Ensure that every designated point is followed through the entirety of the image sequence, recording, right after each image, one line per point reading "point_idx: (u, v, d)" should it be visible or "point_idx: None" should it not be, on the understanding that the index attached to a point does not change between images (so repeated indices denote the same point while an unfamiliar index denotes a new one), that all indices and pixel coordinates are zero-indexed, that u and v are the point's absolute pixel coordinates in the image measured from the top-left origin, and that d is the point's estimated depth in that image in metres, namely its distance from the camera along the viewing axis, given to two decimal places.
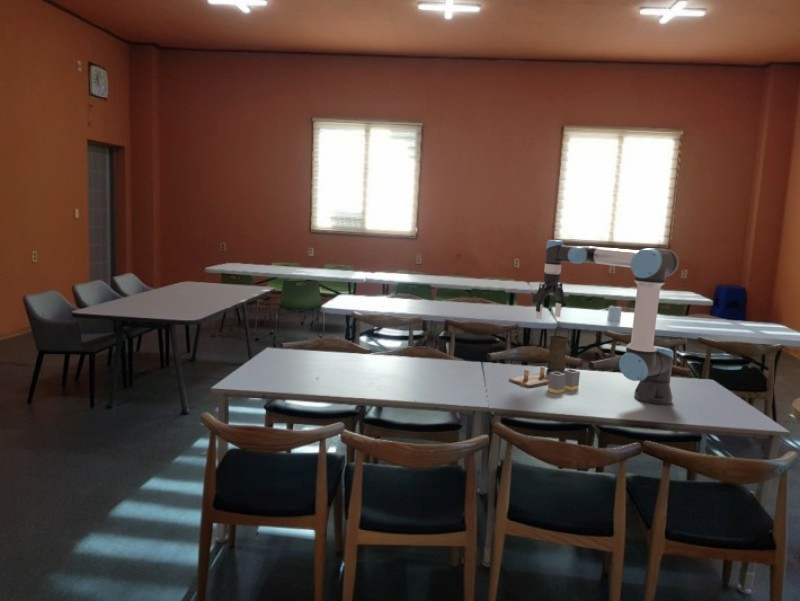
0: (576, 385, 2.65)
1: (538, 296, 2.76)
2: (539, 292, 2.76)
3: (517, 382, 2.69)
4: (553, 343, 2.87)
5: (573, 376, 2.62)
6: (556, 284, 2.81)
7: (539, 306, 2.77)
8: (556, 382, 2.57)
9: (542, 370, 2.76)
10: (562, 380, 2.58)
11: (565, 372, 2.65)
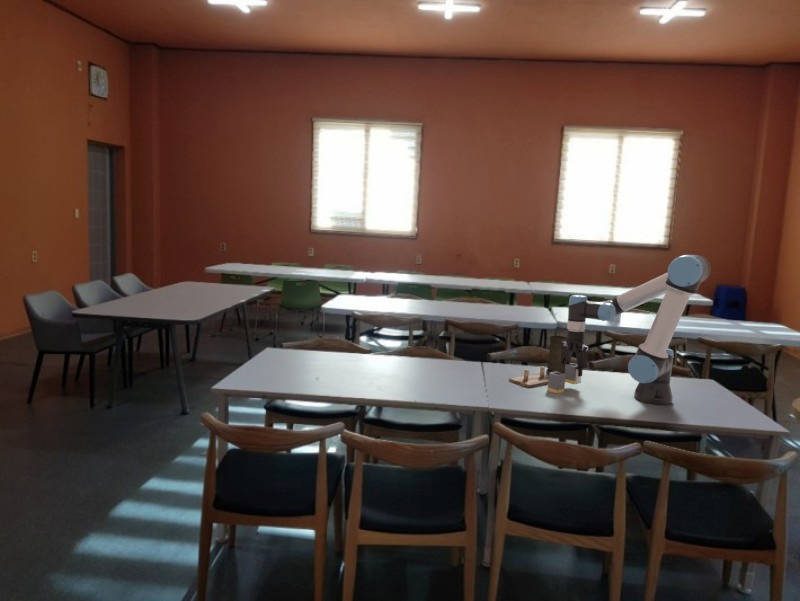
0: None
1: None
2: None
3: (517, 382, 2.69)
4: (553, 343, 2.87)
5: (575, 370, 2.62)
6: (578, 343, 2.60)
7: None
8: (556, 382, 2.57)
9: (542, 370, 2.76)
10: (562, 380, 2.58)
11: (567, 366, 2.64)
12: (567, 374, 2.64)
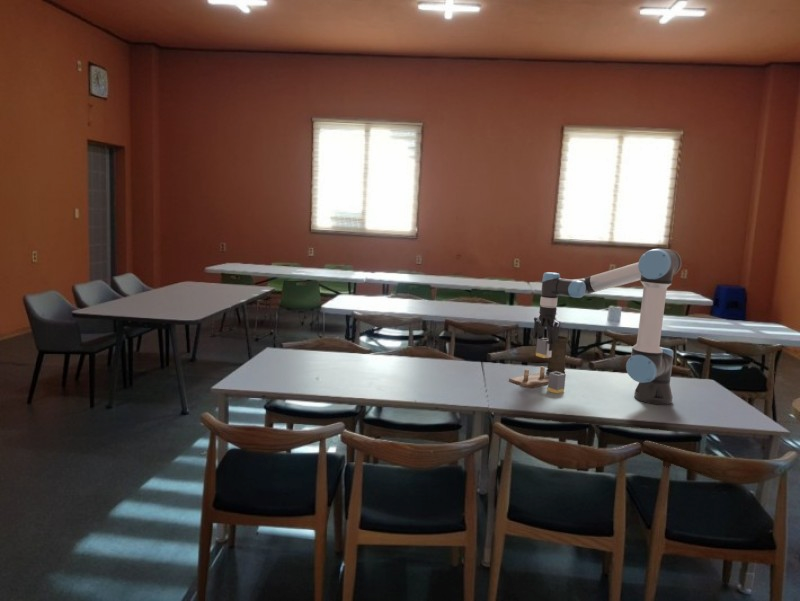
0: None
1: None
2: None
3: (517, 382, 2.69)
4: None
5: (546, 344, 2.72)
6: (550, 318, 2.70)
7: None
8: (556, 382, 2.57)
9: (542, 370, 2.76)
10: (562, 380, 2.58)
11: (539, 340, 2.74)
12: (538, 348, 2.74)
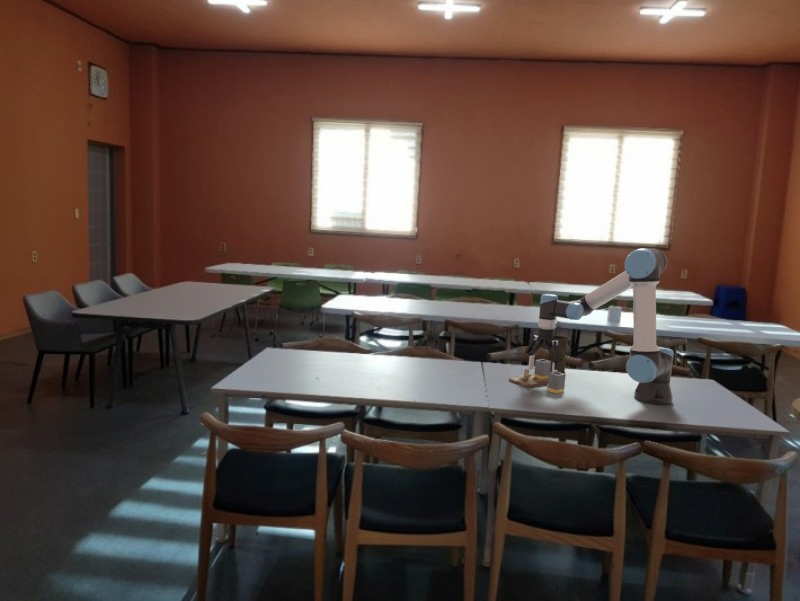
0: (547, 374, 2.75)
1: None
2: None
3: (517, 382, 2.69)
4: None
5: (544, 366, 2.73)
6: (548, 340, 2.72)
7: (529, 356, 2.81)
8: (556, 382, 2.57)
9: None
10: (562, 380, 2.58)
11: (537, 362, 2.76)
12: (537, 369, 2.76)
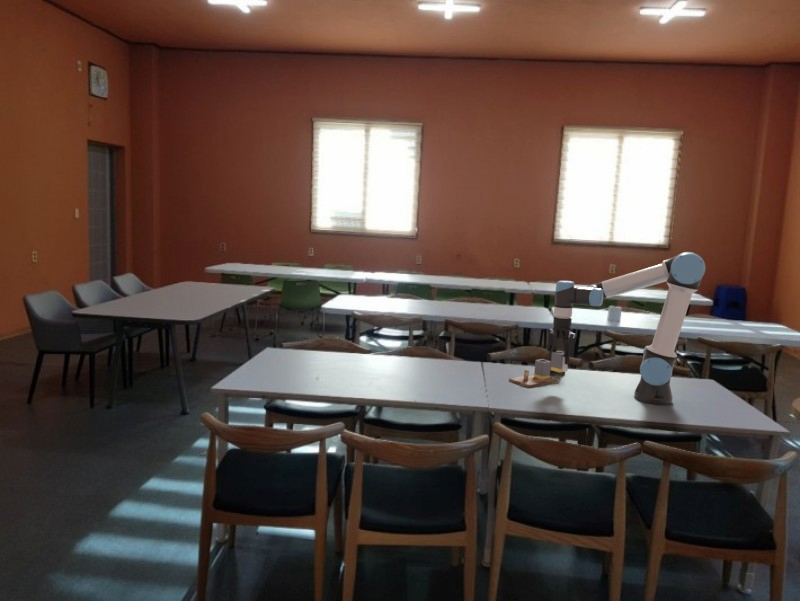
0: (547, 374, 2.75)
1: None
2: None
3: (517, 382, 2.69)
4: None
5: (544, 366, 2.73)
6: (565, 330, 2.53)
7: (551, 355, 2.60)
8: (559, 361, 2.55)
9: None
10: None
11: (537, 362, 2.76)
12: (537, 369, 2.76)
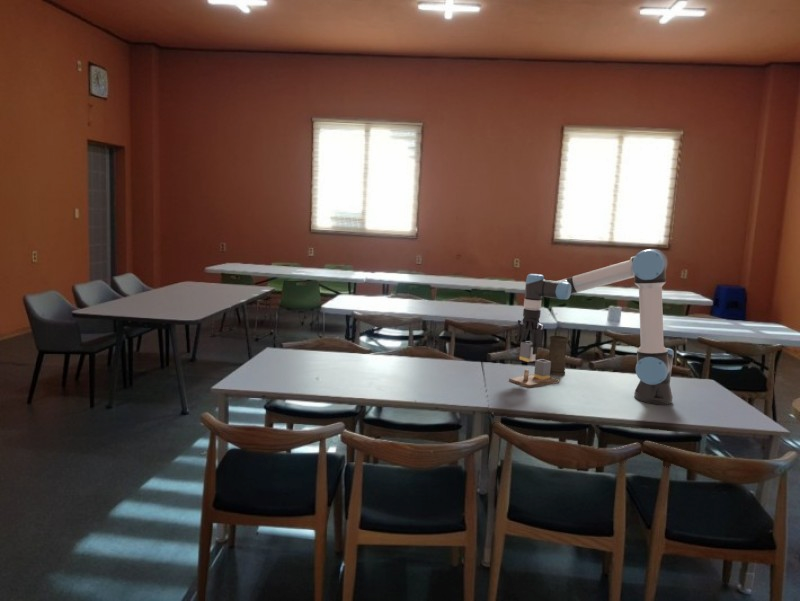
0: (547, 374, 2.75)
1: None
2: None
3: (517, 382, 2.69)
4: (553, 343, 2.87)
5: (544, 366, 2.73)
6: (534, 321, 2.64)
7: None
8: (527, 350, 2.65)
9: None
10: None
11: (537, 362, 2.76)
12: (537, 369, 2.76)
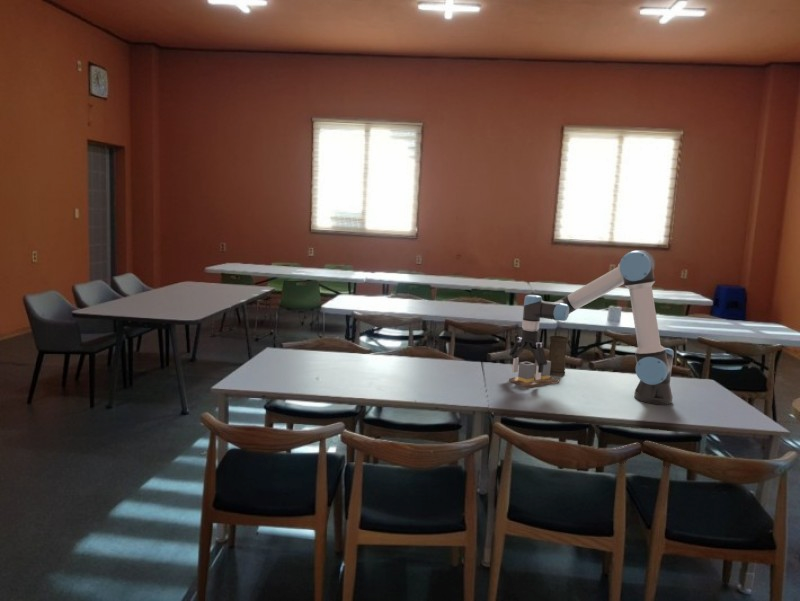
0: (547, 374, 2.75)
1: None
2: None
3: (517, 382, 2.69)
4: (553, 343, 2.87)
5: (544, 366, 2.73)
6: (532, 342, 2.65)
7: (513, 359, 2.75)
8: (526, 371, 2.67)
9: None
10: (532, 370, 2.68)
11: None
12: None
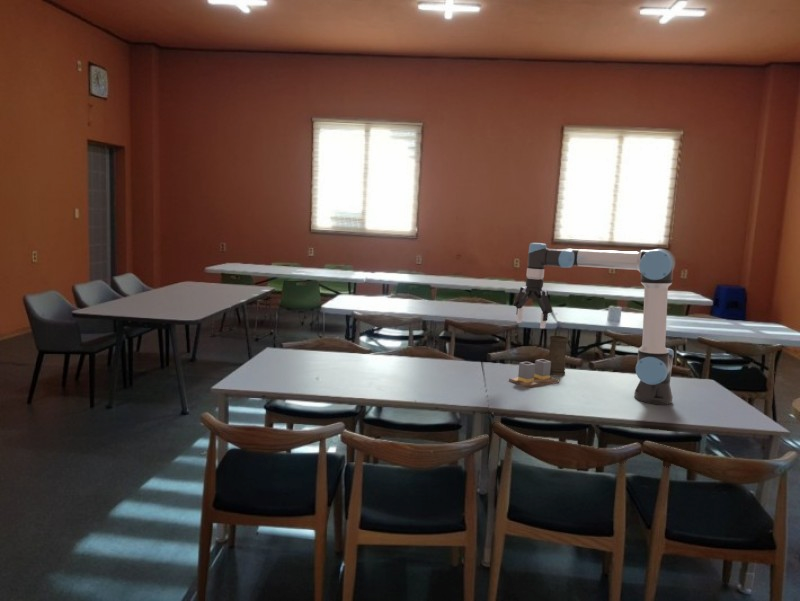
0: (547, 374, 2.75)
1: None
2: None
3: (517, 382, 2.69)
4: (553, 343, 2.87)
5: (544, 366, 2.73)
6: (536, 290, 2.62)
7: (517, 309, 2.72)
8: (526, 371, 2.67)
9: None
10: (532, 370, 2.68)
11: (537, 362, 2.76)
12: (537, 369, 2.76)
